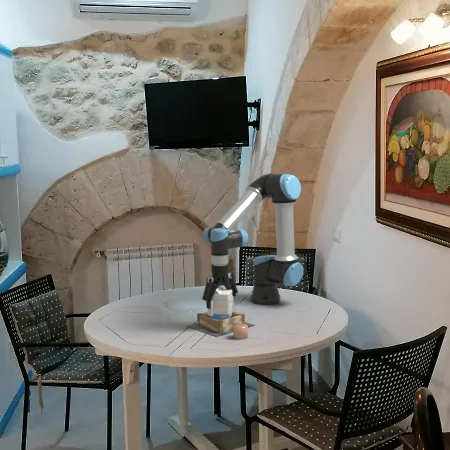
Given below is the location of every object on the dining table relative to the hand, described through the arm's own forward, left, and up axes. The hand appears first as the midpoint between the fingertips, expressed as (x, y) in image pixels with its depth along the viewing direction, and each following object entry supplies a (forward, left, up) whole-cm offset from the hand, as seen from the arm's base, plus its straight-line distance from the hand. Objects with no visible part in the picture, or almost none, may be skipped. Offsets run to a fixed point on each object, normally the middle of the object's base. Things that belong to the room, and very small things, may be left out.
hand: (220, 312), depth 266 cm
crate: (0, 0, -6) cm, 6 cm away
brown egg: (+4, +17, -6) cm, 19 cm away
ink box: (0, 0, -2) cm, 2 cm away
